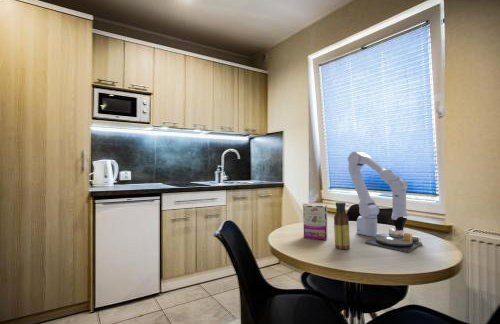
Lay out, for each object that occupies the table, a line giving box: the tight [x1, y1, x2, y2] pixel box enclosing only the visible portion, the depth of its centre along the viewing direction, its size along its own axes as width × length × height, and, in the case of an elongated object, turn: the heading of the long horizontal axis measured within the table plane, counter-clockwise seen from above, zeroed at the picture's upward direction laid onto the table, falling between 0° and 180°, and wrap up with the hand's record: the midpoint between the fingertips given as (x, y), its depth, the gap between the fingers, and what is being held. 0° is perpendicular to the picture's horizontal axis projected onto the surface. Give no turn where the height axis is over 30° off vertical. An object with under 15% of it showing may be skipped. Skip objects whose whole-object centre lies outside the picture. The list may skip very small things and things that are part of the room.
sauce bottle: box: [333, 201, 351, 250], centre depth 117 cm, size 6×6×20 cm
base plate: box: [365, 234, 423, 254], centre depth 123 cm, size 18×18×3 cm
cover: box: [388, 227, 405, 238], centre depth 125 cm, size 6×6×3 cm
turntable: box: [375, 232, 413, 246], centre depth 123 cm, size 15×15×5 cm
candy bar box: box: [302, 204, 328, 241], centre depth 133 cm, size 11×5×16 cm, turn 68°
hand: (399, 232), depth 128 cm, fingers closed
